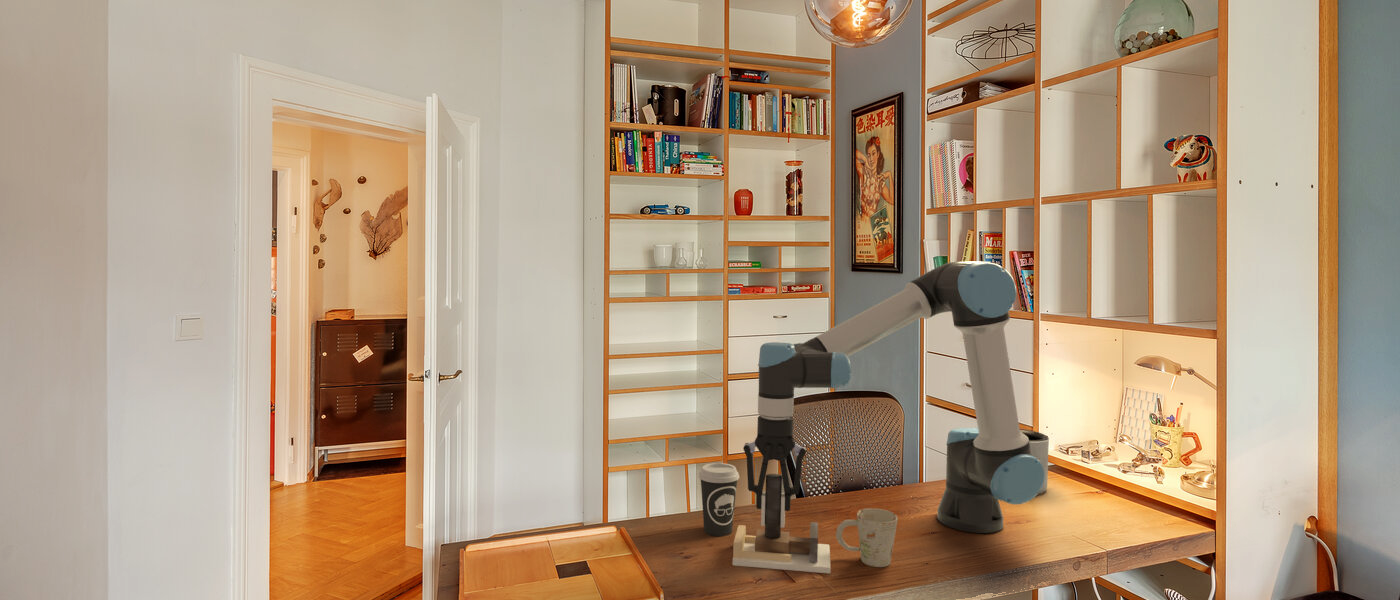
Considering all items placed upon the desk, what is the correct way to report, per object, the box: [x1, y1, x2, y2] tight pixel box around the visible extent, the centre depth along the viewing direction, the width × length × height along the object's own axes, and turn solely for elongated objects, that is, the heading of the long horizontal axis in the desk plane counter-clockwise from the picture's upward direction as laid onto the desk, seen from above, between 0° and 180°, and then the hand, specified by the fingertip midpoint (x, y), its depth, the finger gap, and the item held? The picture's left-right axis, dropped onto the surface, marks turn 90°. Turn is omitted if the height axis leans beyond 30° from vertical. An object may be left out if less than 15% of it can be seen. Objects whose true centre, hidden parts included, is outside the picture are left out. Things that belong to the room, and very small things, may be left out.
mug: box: [835, 507, 898, 568], centre depth 149 cm, size 8×13×10 cm, turn 78°
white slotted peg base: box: [732, 524, 832, 574], centre depth 150 cm, size 20×12×4 cm, turn 81°
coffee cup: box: [698, 462, 740, 537], centre depth 164 cm, size 10×10×15 cm
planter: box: [1020, 428, 1050, 496], centre depth 199 cm, size 16×16×16 cm
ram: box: [755, 473, 819, 562], centre depth 149 cm, size 13×9×16 cm
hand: (772, 524), depth 150 cm, fingers closed on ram, 3 cm apart
